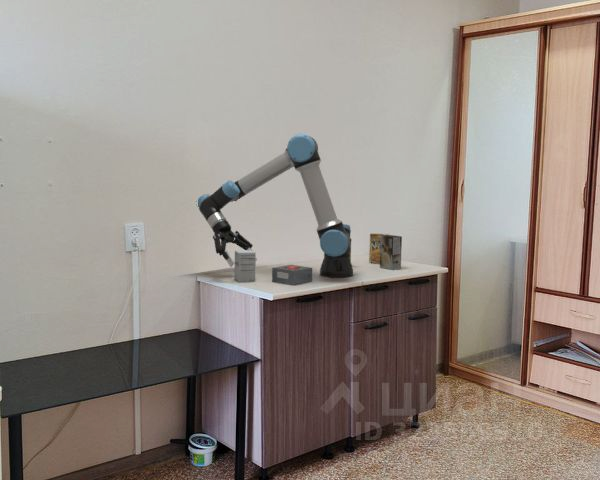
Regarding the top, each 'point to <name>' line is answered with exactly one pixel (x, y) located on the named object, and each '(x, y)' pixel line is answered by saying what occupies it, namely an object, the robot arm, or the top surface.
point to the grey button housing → (292, 275)
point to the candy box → (375, 247)
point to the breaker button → (292, 267)
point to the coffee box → (390, 251)
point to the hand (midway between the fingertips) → (244, 263)
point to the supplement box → (245, 265)
